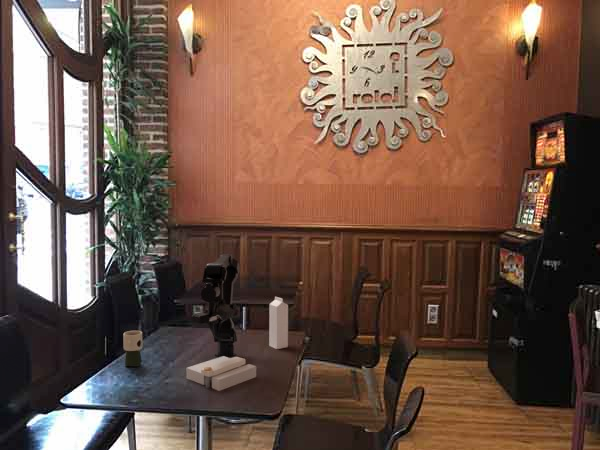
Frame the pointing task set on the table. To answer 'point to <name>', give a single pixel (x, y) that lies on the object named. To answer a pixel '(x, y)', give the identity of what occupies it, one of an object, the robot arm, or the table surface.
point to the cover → (222, 366)
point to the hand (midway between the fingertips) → (215, 336)
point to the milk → (278, 324)
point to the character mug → (132, 347)
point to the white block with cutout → (221, 374)
